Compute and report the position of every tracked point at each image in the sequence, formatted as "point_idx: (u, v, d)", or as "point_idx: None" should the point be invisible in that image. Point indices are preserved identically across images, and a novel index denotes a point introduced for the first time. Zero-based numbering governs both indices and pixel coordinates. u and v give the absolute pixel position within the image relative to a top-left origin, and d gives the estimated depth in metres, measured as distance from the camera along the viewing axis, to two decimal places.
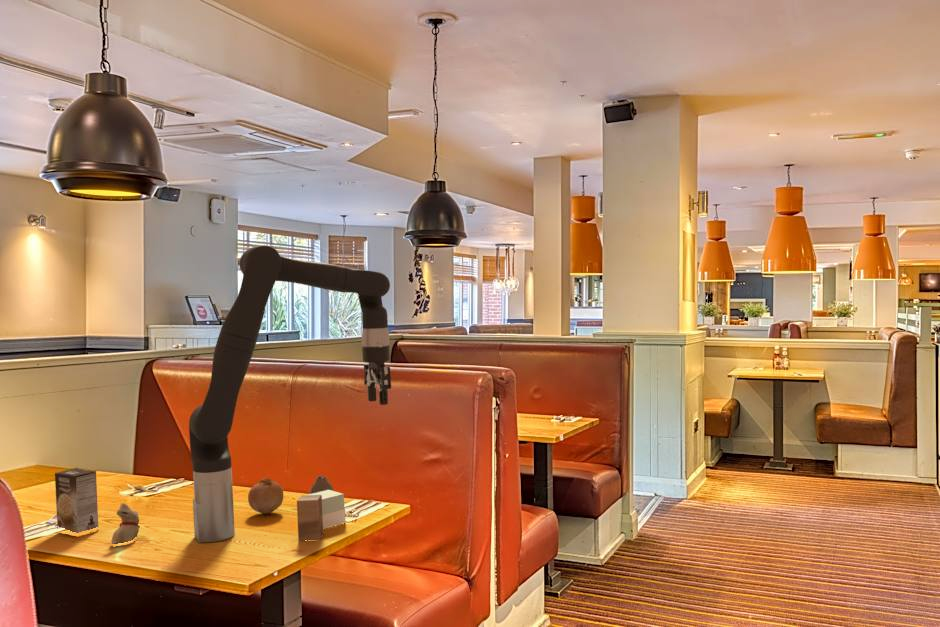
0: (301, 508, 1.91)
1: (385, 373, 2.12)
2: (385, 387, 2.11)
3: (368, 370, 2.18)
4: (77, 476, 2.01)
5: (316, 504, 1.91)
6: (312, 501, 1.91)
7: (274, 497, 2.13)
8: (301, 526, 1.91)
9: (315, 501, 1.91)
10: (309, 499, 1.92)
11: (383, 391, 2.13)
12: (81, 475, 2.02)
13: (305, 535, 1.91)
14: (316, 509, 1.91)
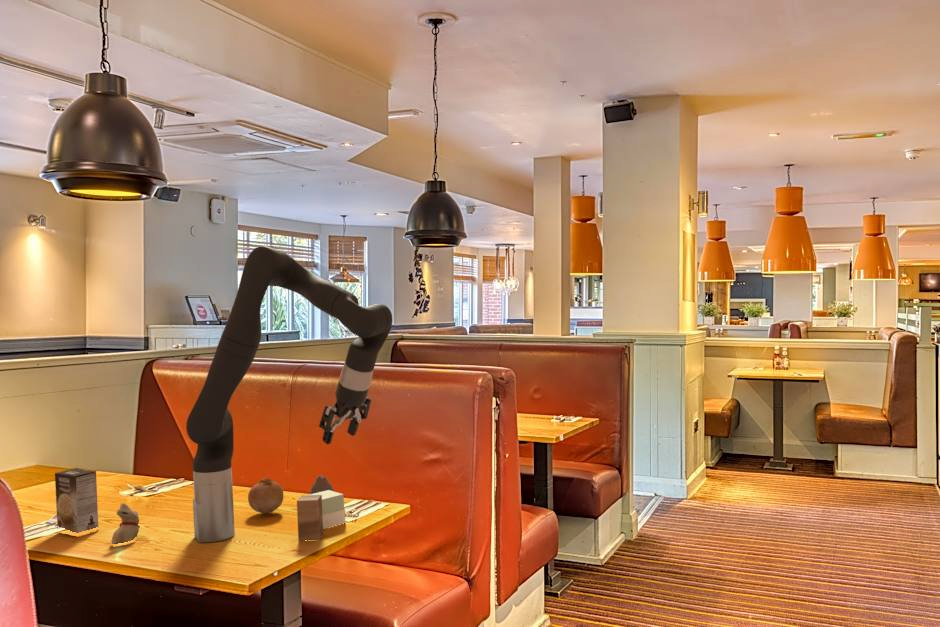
0: (301, 508, 1.91)
1: (326, 414, 1.86)
2: (321, 427, 1.87)
3: None
4: (77, 476, 2.01)
5: (316, 504, 1.91)
6: (312, 501, 1.91)
7: (274, 497, 2.13)
8: (301, 526, 1.91)
9: (315, 501, 1.91)
10: (309, 499, 1.92)
11: None
12: (81, 475, 2.02)
13: (305, 535, 1.91)
14: (316, 509, 1.91)
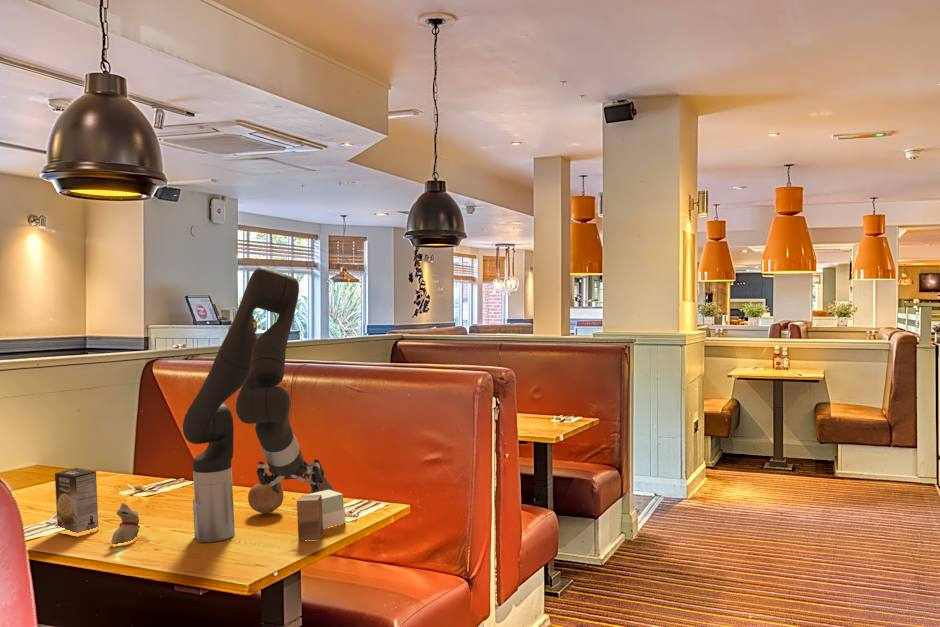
0: (301, 508, 1.91)
1: None
2: None
3: None
4: (77, 476, 2.01)
5: (316, 504, 1.91)
6: (312, 501, 1.91)
7: (274, 497, 2.13)
8: (301, 526, 1.91)
9: (315, 501, 1.91)
10: (309, 499, 1.92)
11: None
12: (81, 475, 2.02)
13: (305, 535, 1.91)
14: (316, 509, 1.91)
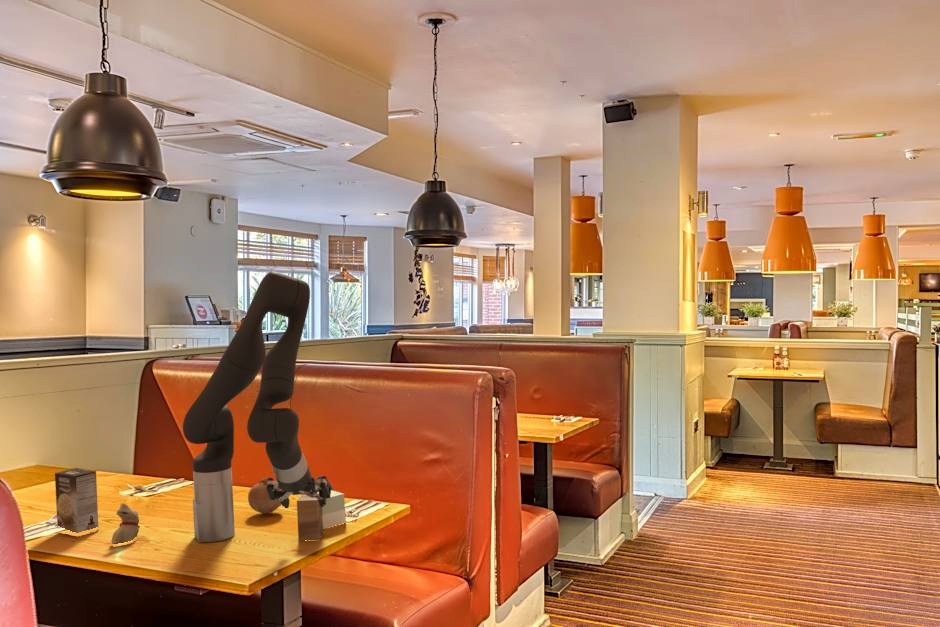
0: (301, 508, 1.91)
1: None
2: None
3: None
4: (77, 476, 2.01)
5: (316, 504, 1.91)
6: (312, 501, 1.91)
7: None
8: (301, 526, 1.91)
9: (315, 501, 1.91)
10: (309, 499, 1.92)
11: None
12: (81, 475, 2.02)
13: (305, 535, 1.91)
14: (316, 509, 1.91)
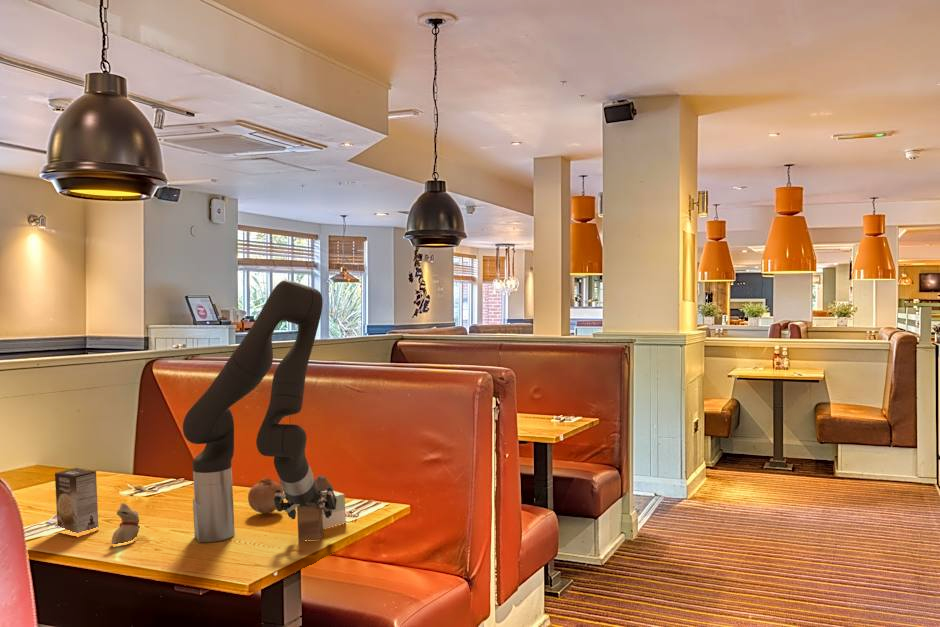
0: (301, 508, 1.91)
1: None
2: None
3: None
4: (77, 476, 2.01)
5: None
6: None
7: None
8: (301, 526, 1.91)
9: None
10: None
11: None
12: (81, 475, 2.02)
13: (305, 535, 1.91)
14: (316, 509, 1.91)
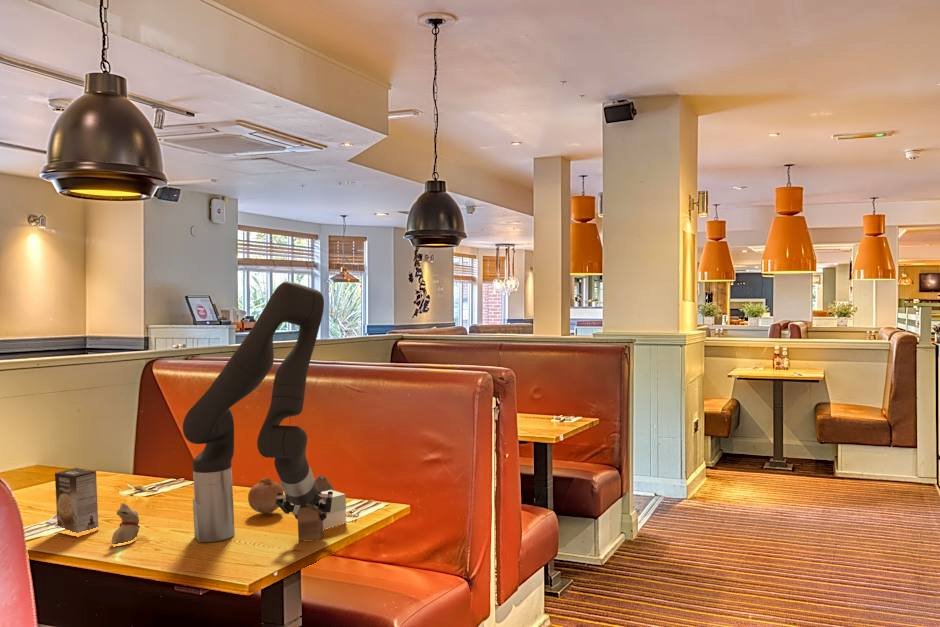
0: (301, 508, 1.91)
1: None
2: None
3: None
4: (77, 476, 2.01)
5: None
6: None
7: (274, 497, 2.13)
8: (301, 526, 1.91)
9: None
10: None
11: None
12: (81, 475, 2.02)
13: (305, 535, 1.91)
14: None
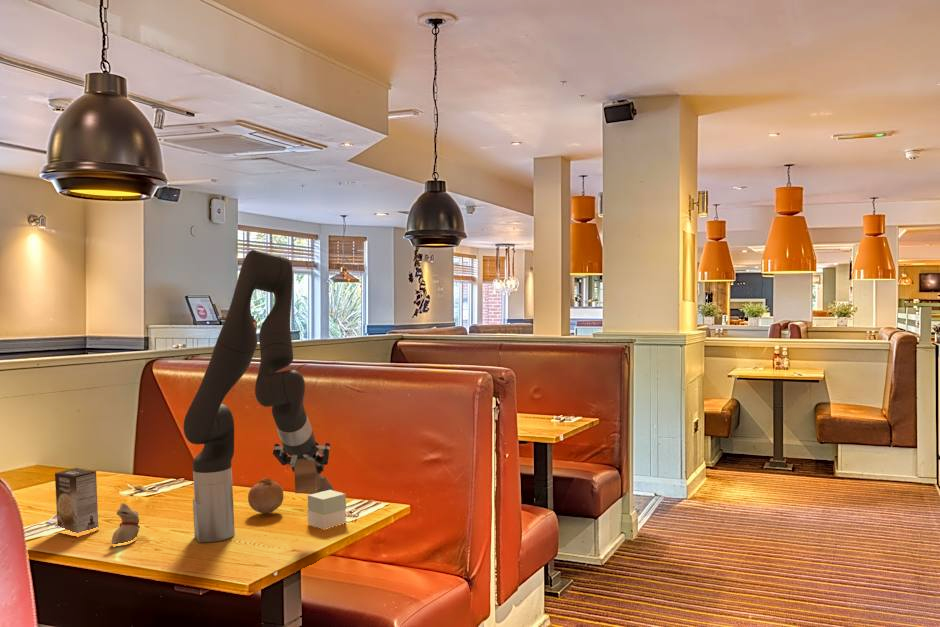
0: (298, 460, 1.91)
1: None
2: None
3: None
4: (77, 476, 2.01)
5: None
6: None
7: (274, 497, 2.13)
8: (298, 478, 1.91)
9: None
10: None
11: None
12: (81, 475, 2.02)
13: (301, 487, 1.91)
14: None
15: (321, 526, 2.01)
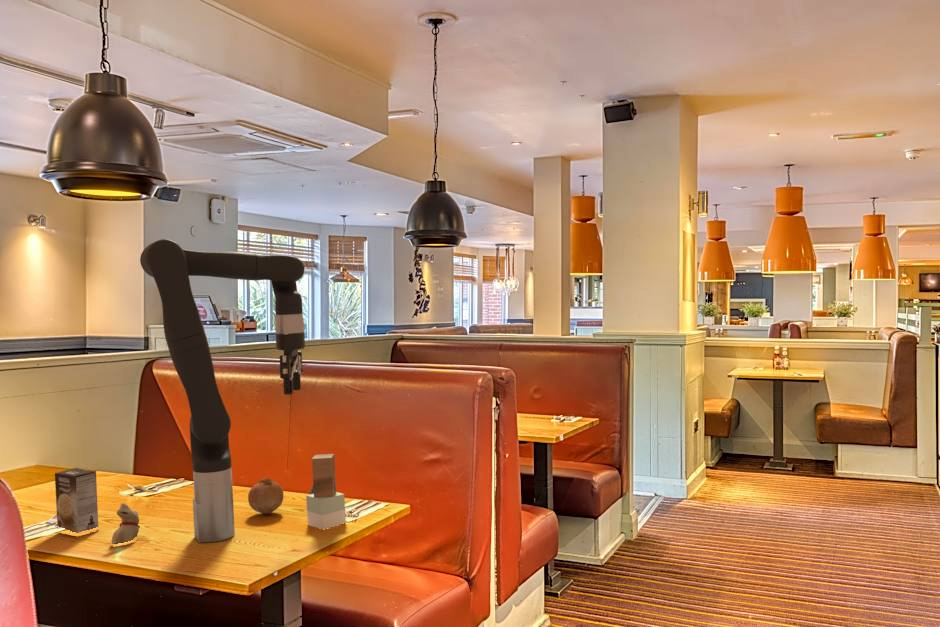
0: (316, 465, 2.02)
1: (283, 362, 2.02)
2: (283, 376, 2.02)
3: None
4: (77, 476, 2.01)
5: (330, 461, 2.02)
6: (326, 459, 2.02)
7: (274, 497, 2.13)
8: (316, 483, 2.02)
9: (329, 459, 2.02)
10: (323, 457, 2.03)
11: (285, 380, 2.04)
12: (81, 475, 2.02)
13: (320, 491, 2.02)
14: (330, 466, 2.02)
15: (321, 526, 2.00)
